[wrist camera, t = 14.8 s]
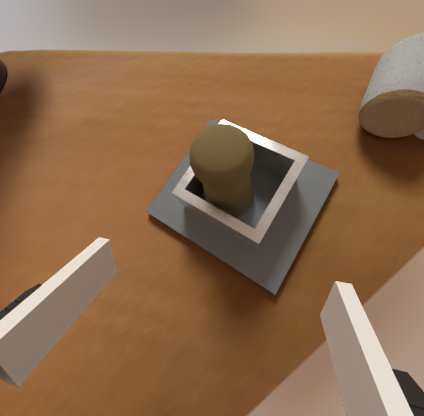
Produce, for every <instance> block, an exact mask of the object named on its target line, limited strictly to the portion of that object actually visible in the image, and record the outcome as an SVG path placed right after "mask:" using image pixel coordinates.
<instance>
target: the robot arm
mask: <svg viewBox="0 0 424 416" xmlns="http://www.w3.org/2000/svg"><path fill="white" fill-rule="evenodd" d="M6 73H7V71H6V66H5V64H4V63H3V62H2V61H1V60H0V90H1V88H2V86H3V84H4V82H5V79H6ZM116 273H117V268H116V264H115V259H114V255H113V251H112V247H111V243H110V239H105V238H98V239H96V240H95V241H94V242H93V243H92V244H91V245H89V246H88V247H87V248H86V249H85V250H83V251H82V252H81V253H80V254H79V255H77V256H76V257H75V258H74V259H73V260H71V261H70V262H69V263H68V264H67V265H66V266H64V267H63V268H62V269H61V270H60V271H58V272H57V273H56V274H55V275H54V276H52V277H51V278H50V279H49V280H48V281H46V282H45V283H44V284H43V285H41V284H38V285H36V286H34V287H32V288H30V289H29V290H27V291H25V292H24V293H23V294H22V295H20V296H19V297H18V298H17V299H15V300H14V302H12V303H10V304H9V305H8V306H7V307H5V309H4V310H2V311H0V378H1V379H2V380H3V381H4V382H5V383H8V384H11V385H14V386H17V387H20V386H21V385H22V384H23V382H24V381H25V380H26V379H27V378H28V377H29V375H30V374H31V373H32V372H33V371H34V369H35V368H36V367H37V366H38V365H39V364H40V362H41V361H42V360H43V359H44V358H45V357H46V355H47V354H48V353H49V352H50V351H51V349H52V348H53V347H54V346H55V345H56V344H57V342H58V341H59V340H60V339H61V338H62V336H63V335H64V334H65V333H66V332H67V331H68V329H69V328H70V327H71V326H72V325H73V323H74V322H75V321H76V320H77V319H78V318H79V316H80V315H81V314H82V313H83V312H84V311H85V309H86V308H87V307H88V306H89V305H90V303H91V302H92V301H93V300H94V299H95V298H96V296H97V295H98V294H99V293H100V292H101V290H102V289H103V288H104V287H105V286H106V285H107V283H108V282H109V281H110V280H111V279H112V278H113V276H114V275H115V274H116ZM320 317H321V320H322V324H323V328H324V332H325V336H326V340H327V343H328V347H329V351H330V355H331V359H332V362H333V367H334V371H335V374H336V378H337V382H338V386H339V390H340V394H341V398H342V401H343V405H344V409H345V413H346V416H424V392H423V390H422V389H421V388H420V387H419V386H418V385H417V383H416V382H415V381H414V380H413V379H412V377H411V376H410V375H409V374H408V373H407V372H403V371H399V370H395V369H391V367H390V365H389V362H388V360H387V358H386V356H385V354H384V352H383V350H382V347H381V345H380V343H379V341H378V339H377V337H376V335H375V333H374V331H373V328H372V326H371V324H370V322H369V320H368V318H367V316H366V314H365V311H364V309H363V307H362V305H361V303H360V301H359V299H358V297H357V295H356V292H355V290H354V288H353V286H352V284H349V283H343V282H338V281H335V283H334V285H333V287H332V290H331V292H330V294H329V296H328V298H327V301H326V303H325V305H324V307H323V310H322V312H321V314H320Z"/></svg>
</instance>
